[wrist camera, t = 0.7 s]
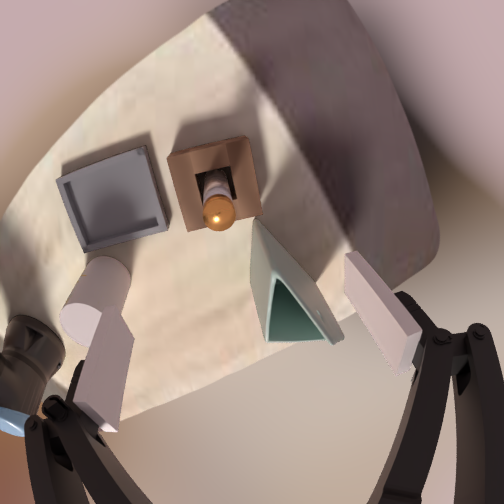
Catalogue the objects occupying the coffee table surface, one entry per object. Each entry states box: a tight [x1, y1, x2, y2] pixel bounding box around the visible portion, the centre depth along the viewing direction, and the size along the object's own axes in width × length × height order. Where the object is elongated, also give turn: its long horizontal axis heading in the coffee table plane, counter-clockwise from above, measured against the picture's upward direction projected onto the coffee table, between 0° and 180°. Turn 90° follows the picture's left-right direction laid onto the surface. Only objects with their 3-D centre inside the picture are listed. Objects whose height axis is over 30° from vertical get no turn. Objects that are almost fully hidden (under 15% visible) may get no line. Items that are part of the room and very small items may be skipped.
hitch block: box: [167, 136, 263, 232], centre depth 37 cm, size 10×10×4 cm
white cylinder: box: [60, 256, 131, 348], centre depth 38 cm, size 8×8×12 cm
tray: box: [56, 145, 169, 253], centre depth 37 cm, size 14×12×2 cm
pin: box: [203, 168, 236, 231], centre depth 32 cm, size 3×3×14 cm
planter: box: [250, 219, 344, 345], centre depth 38 cm, size 16×8×20 cm, turn 40°
